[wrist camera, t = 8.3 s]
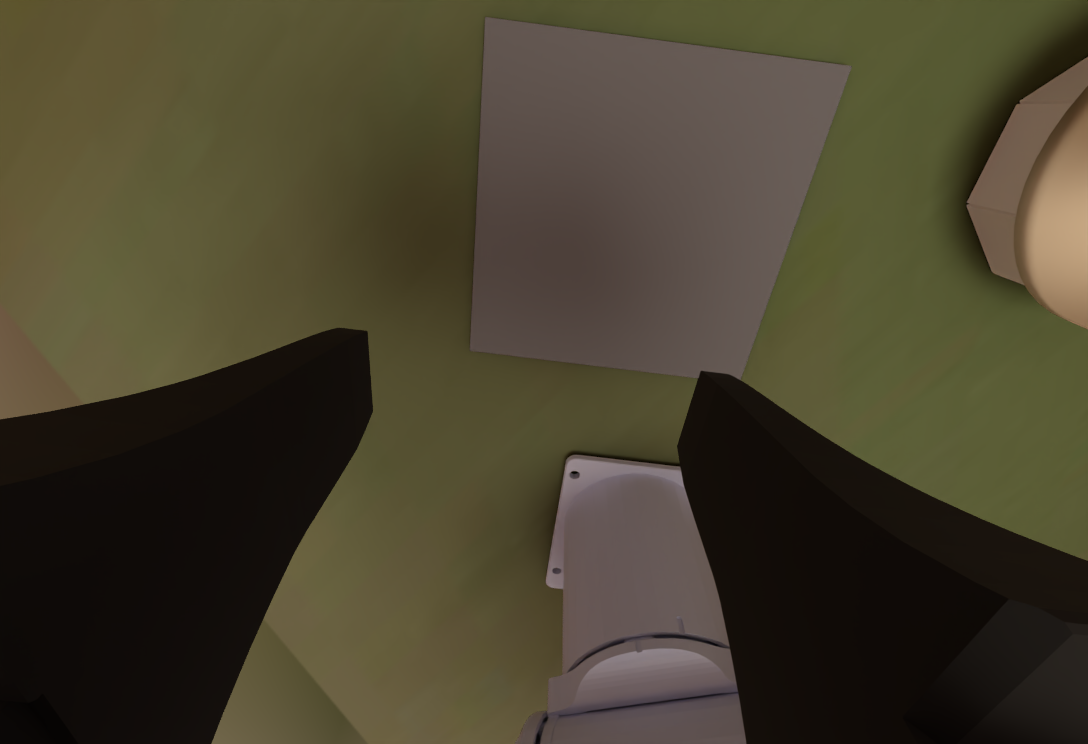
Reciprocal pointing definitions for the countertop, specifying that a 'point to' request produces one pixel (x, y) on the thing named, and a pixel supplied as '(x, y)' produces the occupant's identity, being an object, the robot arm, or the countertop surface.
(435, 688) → the countertop surface
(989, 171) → the bowl
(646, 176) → the mat
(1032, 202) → the lid
